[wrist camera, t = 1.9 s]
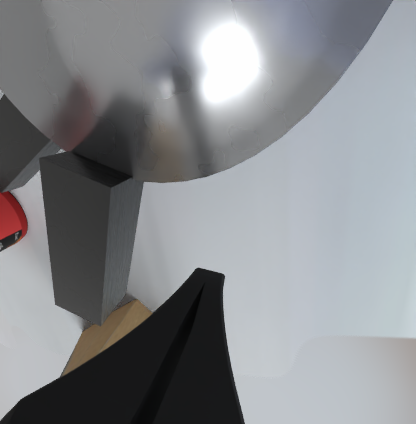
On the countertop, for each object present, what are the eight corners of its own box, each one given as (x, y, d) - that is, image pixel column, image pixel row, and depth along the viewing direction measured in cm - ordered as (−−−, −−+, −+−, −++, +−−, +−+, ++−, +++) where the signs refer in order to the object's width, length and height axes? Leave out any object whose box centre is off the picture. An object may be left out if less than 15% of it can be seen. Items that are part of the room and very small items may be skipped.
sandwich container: (80, 330, 32) (-50, 484, 19) (135, 295, 25) (-15, 507, 12) (122, 364, 33) (27, 529, 20) (185, 341, 26) (101, 575, 13)
